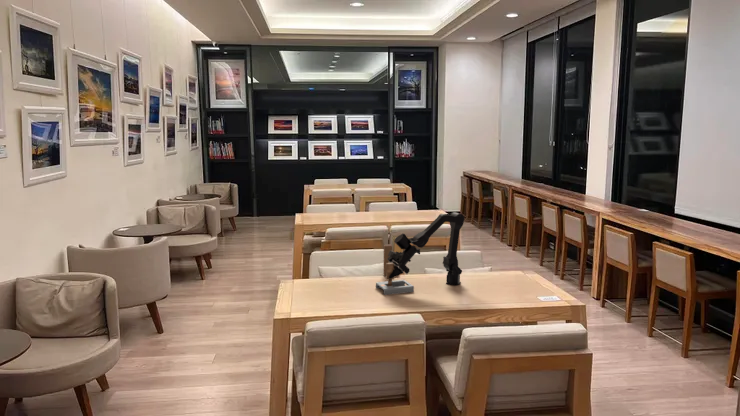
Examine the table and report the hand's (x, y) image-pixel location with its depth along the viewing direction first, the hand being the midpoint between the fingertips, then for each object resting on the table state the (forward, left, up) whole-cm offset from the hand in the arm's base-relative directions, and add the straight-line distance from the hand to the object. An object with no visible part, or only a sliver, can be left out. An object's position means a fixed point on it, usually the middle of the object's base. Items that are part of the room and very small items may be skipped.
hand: (387, 276), depth 285 cm
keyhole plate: (-3, -3, -7) cm, 9 cm away
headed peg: (-1, -1, -7) cm, 7 cm away
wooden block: (+13, -28, -8) cm, 32 cm away
